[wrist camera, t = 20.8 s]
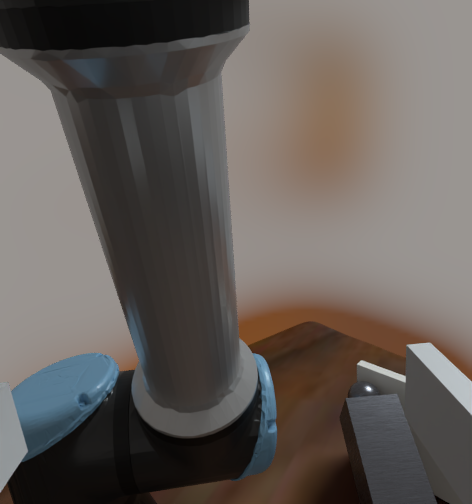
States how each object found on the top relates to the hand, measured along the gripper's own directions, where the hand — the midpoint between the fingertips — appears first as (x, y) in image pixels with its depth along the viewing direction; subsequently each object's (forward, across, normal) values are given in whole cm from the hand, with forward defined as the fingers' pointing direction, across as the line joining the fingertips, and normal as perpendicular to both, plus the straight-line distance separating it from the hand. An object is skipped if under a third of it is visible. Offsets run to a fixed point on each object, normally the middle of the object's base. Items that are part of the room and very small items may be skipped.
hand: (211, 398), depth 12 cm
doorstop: (+15, +15, -31) cm, 38 cm away
